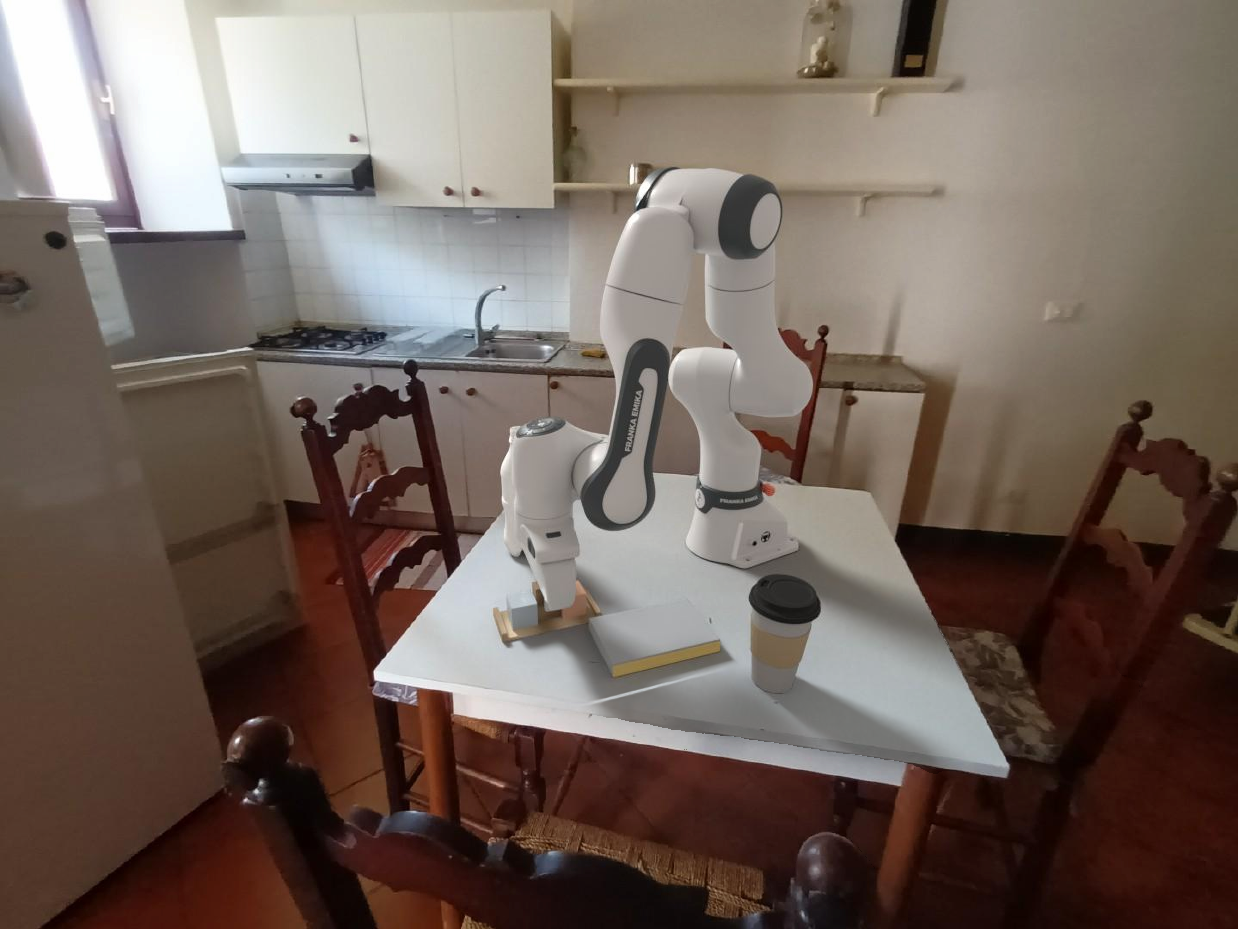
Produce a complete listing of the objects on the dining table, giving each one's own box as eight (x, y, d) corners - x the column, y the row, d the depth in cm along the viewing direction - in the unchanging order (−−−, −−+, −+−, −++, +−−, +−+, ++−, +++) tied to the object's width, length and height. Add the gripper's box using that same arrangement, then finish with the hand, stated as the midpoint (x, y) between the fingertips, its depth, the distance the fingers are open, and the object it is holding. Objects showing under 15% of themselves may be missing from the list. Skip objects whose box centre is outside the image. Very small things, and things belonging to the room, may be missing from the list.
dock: (686, 610, 100) (687, 598, 100) (719, 653, 91) (721, 639, 90) (589, 631, 95) (589, 618, 94) (613, 679, 85) (613, 665, 84)
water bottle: (535, 562, 113) (530, 437, 104) (498, 557, 114) (491, 433, 105) (546, 544, 120) (543, 424, 110) (512, 539, 121) (506, 420, 111)
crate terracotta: (578, 600, 101) (578, 580, 100) (586, 614, 98) (586, 593, 96) (555, 605, 100) (554, 585, 98) (562, 619, 96) (562, 598, 95)
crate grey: (531, 610, 98) (531, 589, 97) (537, 625, 95) (537, 603, 93) (507, 615, 97) (506, 594, 95) (512, 630, 93) (511, 609, 92)
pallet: (586, 599, 103) (587, 563, 101) (601, 623, 98) (601, 585, 95) (493, 619, 98) (491, 581, 95) (502, 646, 92) (500, 606, 89)
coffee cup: (734, 655, 90) (744, 569, 85) (797, 658, 90) (812, 572, 85) (744, 702, 82) (756, 609, 76) (814, 705, 82) (832, 612, 76)
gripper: (509, 497, 99) (513, 570, 104) (539, 560, 81) (541, 643, 87) (547, 492, 101) (549, 564, 106) (583, 552, 84) (583, 634, 89)
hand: (545, 600), depth 96 cm, fingers open, 3 cm apart
